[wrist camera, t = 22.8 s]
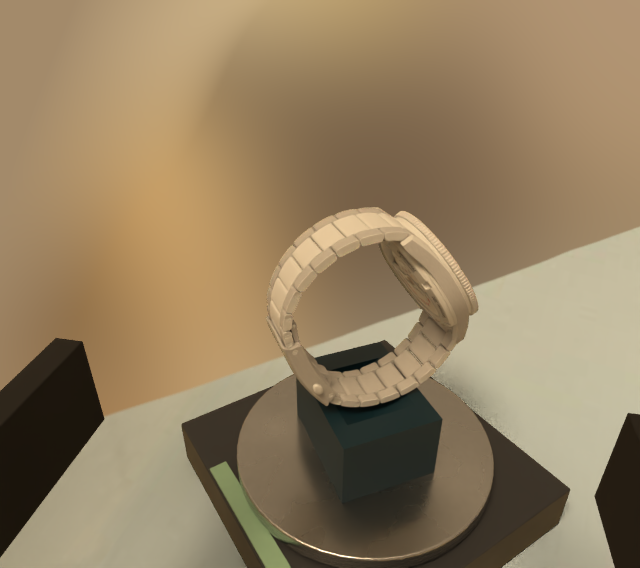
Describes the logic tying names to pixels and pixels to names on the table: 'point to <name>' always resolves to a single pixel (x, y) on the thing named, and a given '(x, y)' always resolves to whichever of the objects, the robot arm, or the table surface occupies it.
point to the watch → (373, 352)
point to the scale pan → (371, 510)
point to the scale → (456, 564)
